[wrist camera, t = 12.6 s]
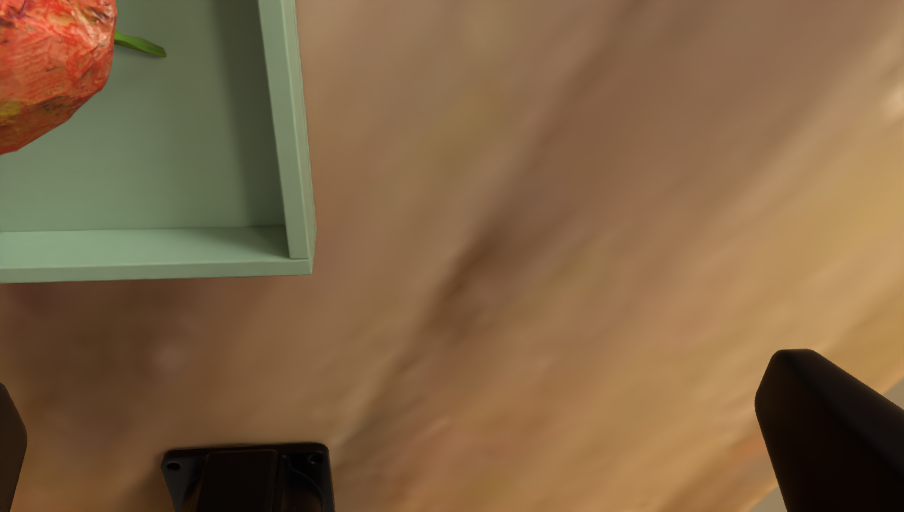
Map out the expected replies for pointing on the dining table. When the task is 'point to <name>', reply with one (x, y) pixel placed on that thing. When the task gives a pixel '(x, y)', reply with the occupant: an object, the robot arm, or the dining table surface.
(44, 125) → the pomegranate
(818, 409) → the robot arm
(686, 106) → the dining table surface
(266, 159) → the tray
